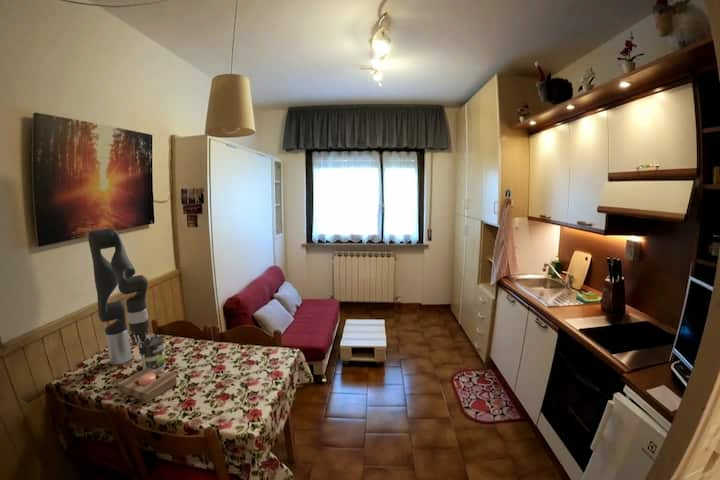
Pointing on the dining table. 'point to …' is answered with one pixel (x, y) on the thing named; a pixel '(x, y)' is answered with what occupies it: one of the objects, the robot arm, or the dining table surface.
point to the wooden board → (149, 391)
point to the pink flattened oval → (146, 379)
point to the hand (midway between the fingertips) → (143, 353)
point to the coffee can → (154, 354)
